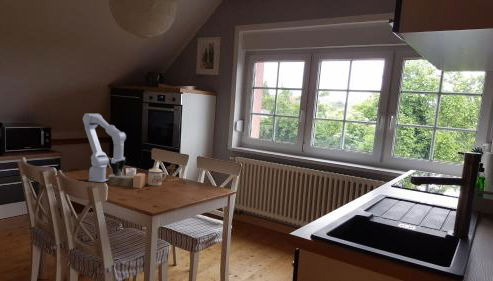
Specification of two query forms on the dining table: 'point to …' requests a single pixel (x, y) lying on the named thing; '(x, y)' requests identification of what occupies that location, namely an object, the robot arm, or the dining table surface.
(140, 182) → the tan square block
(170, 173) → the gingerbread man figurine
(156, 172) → the teacup with lid
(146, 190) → the dining table surface
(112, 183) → the guide channel
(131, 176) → the slide bar
